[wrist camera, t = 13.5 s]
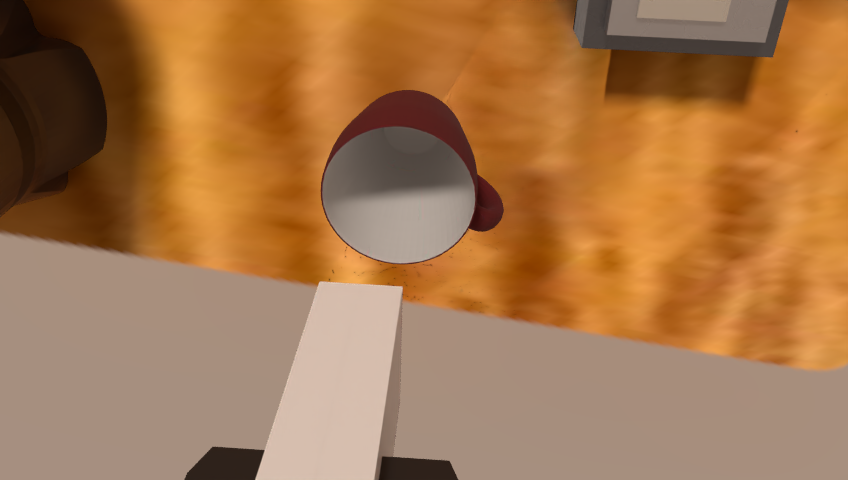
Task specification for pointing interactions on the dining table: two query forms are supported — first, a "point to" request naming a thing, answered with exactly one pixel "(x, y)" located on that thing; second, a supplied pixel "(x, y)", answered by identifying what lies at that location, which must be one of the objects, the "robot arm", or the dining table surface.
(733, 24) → the grey stepped machine part
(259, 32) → the dining table surface
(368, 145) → the mug
